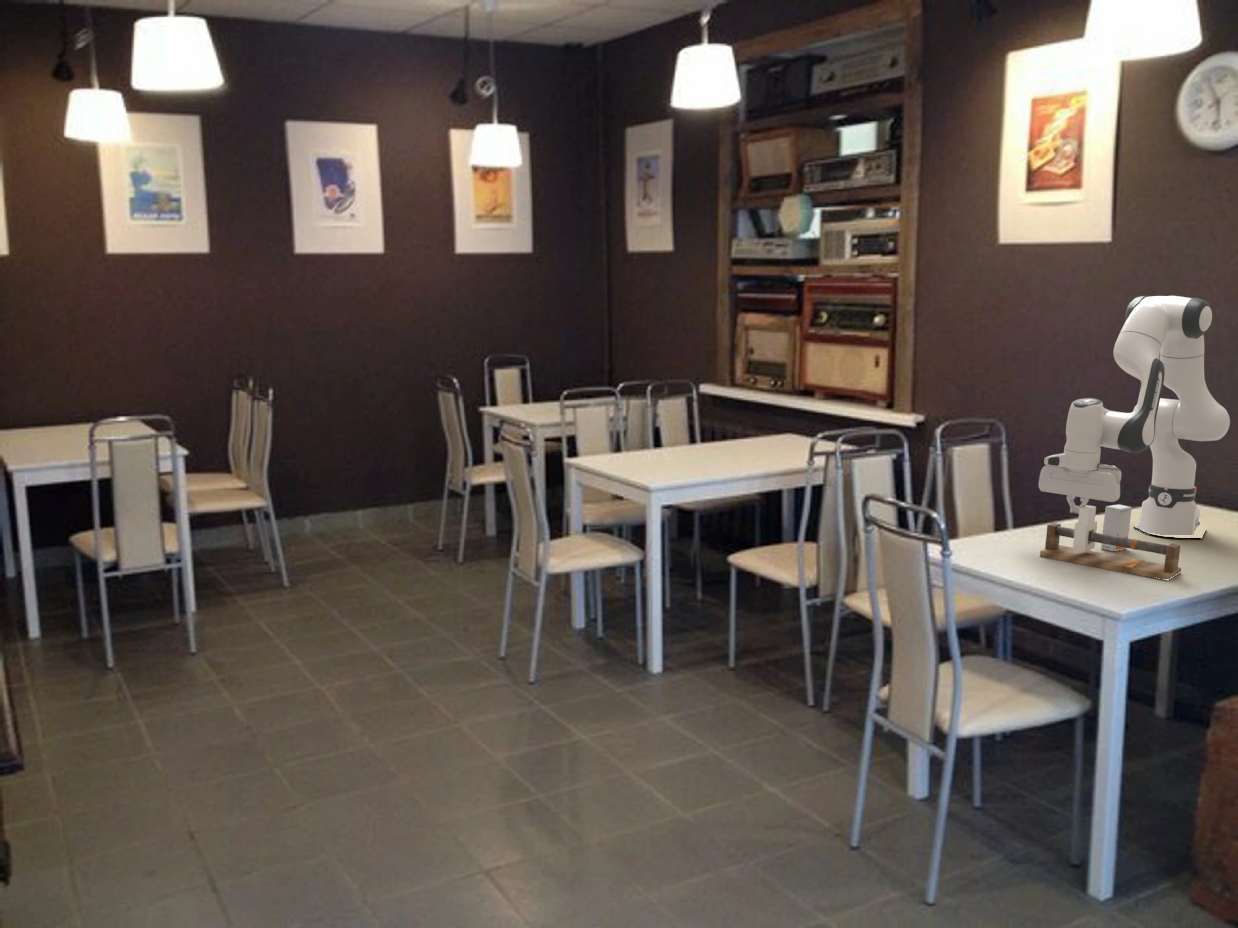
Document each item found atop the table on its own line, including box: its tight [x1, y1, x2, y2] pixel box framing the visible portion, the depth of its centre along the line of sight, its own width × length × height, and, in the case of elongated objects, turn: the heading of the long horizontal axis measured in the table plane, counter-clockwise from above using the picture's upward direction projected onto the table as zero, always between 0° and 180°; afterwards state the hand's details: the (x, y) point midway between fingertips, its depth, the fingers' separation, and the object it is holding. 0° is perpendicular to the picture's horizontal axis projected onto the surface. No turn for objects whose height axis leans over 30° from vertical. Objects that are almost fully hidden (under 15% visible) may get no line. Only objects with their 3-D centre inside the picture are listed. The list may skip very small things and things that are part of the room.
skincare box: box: [1100, 504, 1133, 552], centre depth 306 cm, size 6×4×12 cm
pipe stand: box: [1039, 522, 1182, 579], centre depth 290 cm, size 32×10×8 cm, turn 47°
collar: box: [1072, 504, 1098, 552], centre depth 294 cm, size 3×7×11 cm, turn 137°
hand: (1076, 513), depth 295 cm, fingers closed
